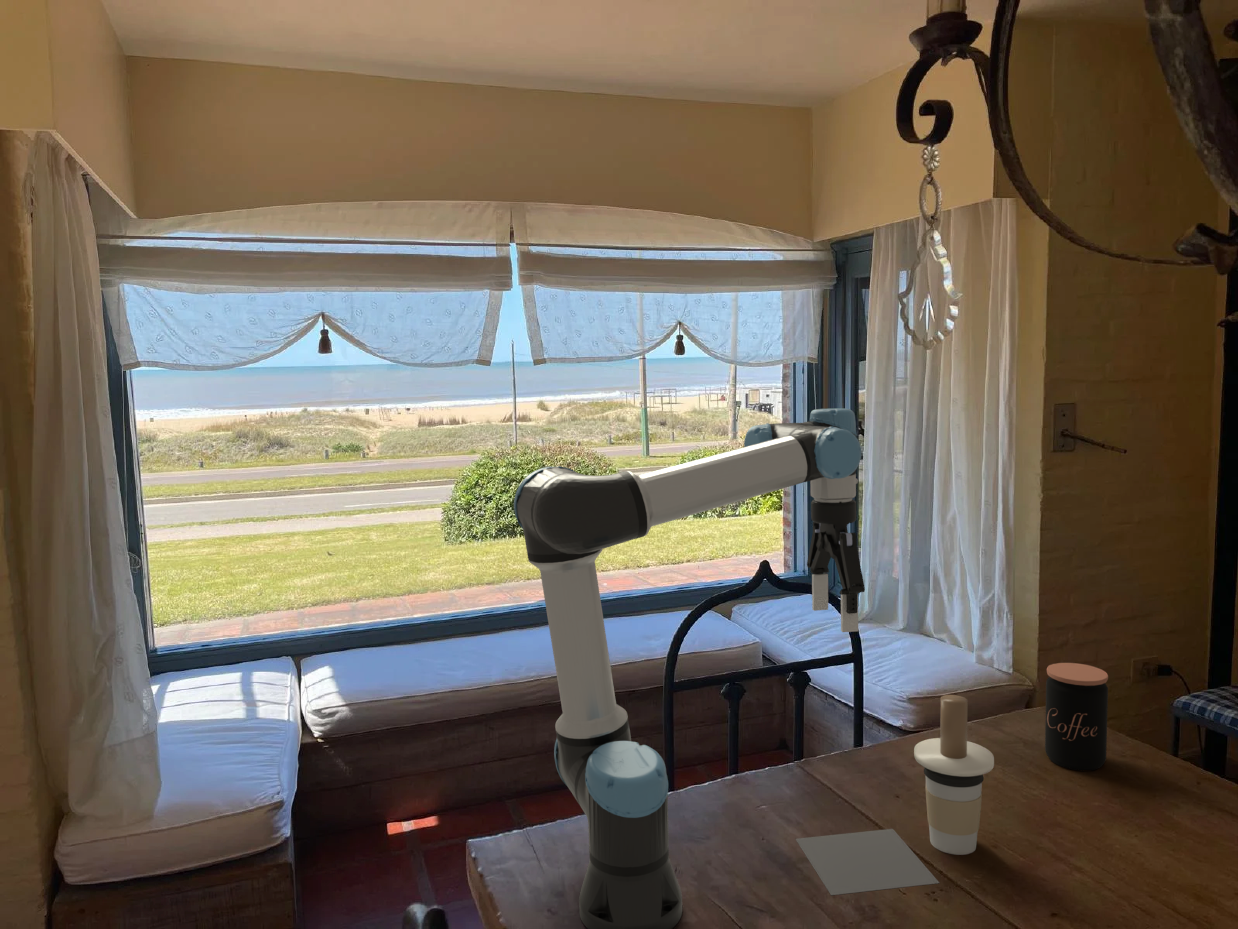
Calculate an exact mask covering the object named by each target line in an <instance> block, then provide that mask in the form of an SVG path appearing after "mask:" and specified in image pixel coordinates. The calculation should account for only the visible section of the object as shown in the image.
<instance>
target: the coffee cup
mask: <svg viewBox="0 0 1238 929" xmlns="http://www.w3.org/2000/svg"><path fill="white" fill-rule="evenodd" d="M923 773H924V774H923V775H924V777H925V785H924V787H925V801H926V812H927V814H926V815H927V823H928V828H929V841H930V845H932V846H933V847H934V848H935V849H937V850H938V851H939V852H940V851H941V852H943V853H946V854H949V855H957V856H959V855H961V856H964V855H969V854H972V853H974V852H975V851H976V849H977V843H978V842H977V840H978V831H979V829H980V822H981V821H980V819H981V812H982V810H981V809H982V801H983V800H982V797H983V791H982V789H983V788H982V786H983V785H982V784H983V782H984V779H985V778H984V774H983V775H978V776H952V775H946V774H941V773H938V772H935V771H932V770H929V769H927V768H925V767H923Z"/></svg>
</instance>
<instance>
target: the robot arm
mask: <svg viewBox="0 0 1238 929" xmlns="http://www.w3.org/2000/svg"><path fill="white" fill-rule="evenodd" d="M856 426H857V422H856V415H855V412H854V411H853V410H851V409H850V408H840V407H839V408H837V407H836V408H818V409H813V410H811V412H810V414H809V420H807V421H803V422H781V423H769V422H766V423H765V424H764V423H763V424H757V425H752V426H751V427H750V428H749V429H748V430H747V432H746V433H745V437H744V442H743V443H744V444H743V445H744V446H743V447H740V448H736V449H732V450H728V451H725V452H721V453H717V454H714V455H713V454H712V455H709V456H705V457H702V458H698V459H693V460H690V461H687V462H684V463H680V464H679V463H678V464H676V465H672V466H668V467H665V468H660V469H656V470H653V471H650V472H646V473H645V472H644V473H641V474H637V475H636V473H635V474H634V473H633V472H632V471H630V470H626V471H622V472H618V473H612V474H605V475H591V474H589V475H588V474H583V473H579V472H576V471H575V470H574V469H572V468H568V467H566V466H562V465H561V466H545V467H541V468H539V469H536V470H534V471H532V472H531V473H530V474H527V476H526V477H525V478H524V479H523V480H522V481H521V483H520V484H519V485H518V487H517V489H516V492H515V495H514V501H513V511H514V514H515V515H514V516H515V518H516V521H517V523H518V524H519V526H520V528H521V529H522V530H523V535H524V541H525V550H526V554H527V560H528V562H529V563H530V564H531V565H533V566H534V567H536V569H538V570H539V573H540V578H541V585H542V591H543V598H544V604H545V610H546V615H547V622H548V629H549V636H550V640H551V641H550V642H551V647H552V654H553V661H554V665H555V666H554V668H555V671H556V672H555V673H556V679H557V685H558V691H559V697H560V698H559V699H560V703H561V704H560V705H561V710H562V713H561V715H560V716H559V718H558V719H557V720H556V722H555V725H554V727H555V734H556V740H555V742H554V748H553V749H554V750H553V752H554V753H553V755H554V756H553V757H554V762H555V768H556V770H557V773H558V775H559V777H560V779H561V781H562V782H563V784H565V786H567V788H568V789H569V791H570V792H571V793H572V796H573V797H574V799H575V800H576V802H577V803H578V805H579V806H580V808H581V809H582V811H583V813H584V815H586V816H585V817H586V819H587V827H588V828H587V829H588V850H589V851H588V852H589V854H588V855H589V861H588V864H587V868H586V872H585V876H584V879H583V882H582V885H581V889H580V892H579V898H578V903H579V907H578V908H579V910H578V911H579V918H580V920H581V922H582V924H583V925H584V926H585V927H586V929H673V928H675V927H676V925H677V924H678V923H679V922H680V920H681V918H682V916H683V895H682V894H683V893H682V889H681V886H680V884H679V881H678V878H677V876H676V873H675V870H674V868H673V865H672V862H671V860H670V852H669V851H670V849H669V840H670V839H669V800H668V799H669V797H668V794H669V793H668V792H669V780H668V775H667V768H666V764H665V761H664V759H663V757H662V756H661V754H659V753H658V751H656V750H655V749H653V748H652V747H650V746H648V745H646V744H642V745H640V743H639V742H636V741H632V738H631V737H632V736H631V730H630V724H629V718H628V712H627V711H626V709H625V708H623V707H622V706H620V705H619V704H617V701H616V696H615V695H616V694H615V688H614V682H613V681H614V680H613V674H612V667H611V661H610V654H609V647H608V641H607V634H606V626H605V621H604V614H603V608H602V600H601V594H600V587H599V581H598V575H597V568H596V559H597V558H598V557H599V555H601V553H602V552H603V550H604V549H606V548H609V547H610V548H611V547H613V546H617V545H619V544H623V543H627V542H629V541H632V540H637V539H640V538H644V537H646V536H647V535H648V534H649V532H650V530H651V528H653V527H655V526H659V525H663V524H665V523H668V522H672V521H676V520H678V519H682V518H683V519H684V518H686V517H689V516H693V515H696V514H699V513H702V512H704V513H705V512H706V511H710V510H714V509H717V508H720V507H724V506H727V505H731V504H734V503H737V502H742V501H744V500H748V499H752V498H754V497H755V498H756V497H758V496H762V495H765V494H769V493H773V492H776V491H779V490H782V489H785V488H789V487H792V486H796V485H799V484H802V483H807V482H810V497H812V498H813V499H812V501H811V502H810V506H811V507H810V512H811V513H810V514H811V515H810V516H811V521H812V536H811V539H810V546H809V551H808V554H807V555H808V557H807V562H806V565H807V566H806V567H807V568H808V569H810V570H809V571H810V573H811V595H812V600H811V601H812V602H811V606H812V611H814V612H815V611H816V612H817V611H828V610H829V577H828V576H829V574H828V573H830V569H829V568H828V567H829V563H830V560H831V559H833V560H834V562H835V566H836V570H837V574H838V577H839V580H840V584H841V588H842V589H841V590H840V591H839V595H840V631H841V632H842V633H851V632H852V633H853V632H859V594H861V593H865V590H866V588H865V583H864V577H863V573H862V568H861V563H860V562H861V561H860V556H859V552H858V551H859V550H858V543H857V541H858V540H857V539H858V538H857V534H856V532H849V531H848V525H849V524H853V523H855V522H856V521H857V501H856V500H855V499H853V498H855V497H856V495H857V489H856V488H857V484H858V483H859V479H858V478H856V476H857V474H856V473H857V471H856V470H857V468H858V467H859V465H860V462H861V461H862V460H861V459H862V448H861V444H860V442H859V440H858V438H857V436H858V434H857V427H856Z"/></svg>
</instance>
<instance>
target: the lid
mask: <svg viewBox="0 0 1238 929" xmlns="http://www.w3.org/2000/svg"><path fill="white" fill-rule="evenodd" d="M939 721H940V723H939V724H940V725H939V726H940V730H939V731H940V734H939V735H940V737H935V738H933V737H932V738H928V739H925V740H922V741H919V742H917V744H915V745H914V749H913V751H914V752H913V754H914V755H913V757H914V759H915V761H916V762H917V763H918V764H919V765H920V766H922V767H923V768H924V767H925V768H927V769H929V770H932V771H935V772H938V773H941V774H946V775H952V776H978V775H983V776H984V775H985V774H988V773H990V772H991V771H992V770H993V768H994V767H995V757H994V754H993V753H992V751H990V750H989V749H988V748H987V747H984V746H982V745H980V744H978V743H975V742H971V741H968V699H967V698H966V697H964V696H961V695H955V694H945V695H942V696H940V720H939Z"/></svg>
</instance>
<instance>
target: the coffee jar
mask: <svg viewBox="0 0 1238 929" xmlns="http://www.w3.org/2000/svg"><path fill="white" fill-rule="evenodd" d="M1046 673H1047V676H1048V677H1047V679H1046V680H1045V681H1046V682H1045V727H1044V728H1045V730H1044V735H1045V736H1044V737H1045V738H1044V751H1045V753H1046V754H1045V755H1046V756H1047V757H1048V758H1049V760H1050V761H1051V762H1052V763H1054V764H1056V765H1057V766H1059V767H1061V768H1065V769H1068V770H1074V771H1080V770H1082V771H1083V770H1092V771H1096V769H1097V770H1098V768H1099V769H1100V767H1101V768H1102V766H1104V764H1105V763H1106V761H1107V746H1108V744H1107V742H1108V741H1107V738H1108V707H1109V706H1108V705H1109V704H1108V703H1109V702H1108V701H1109V687H1108V685H1107V684H1106V683H1107V682H1108V680H1109V675H1108V673H1107V672H1106V671H1105V670H1103V669H1101V668H1098V667H1096V666H1093V665H1090V664H1083V663H1075V662H1058V663H1051V664H1049V665H1048V666H1047V668H1046Z"/></svg>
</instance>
